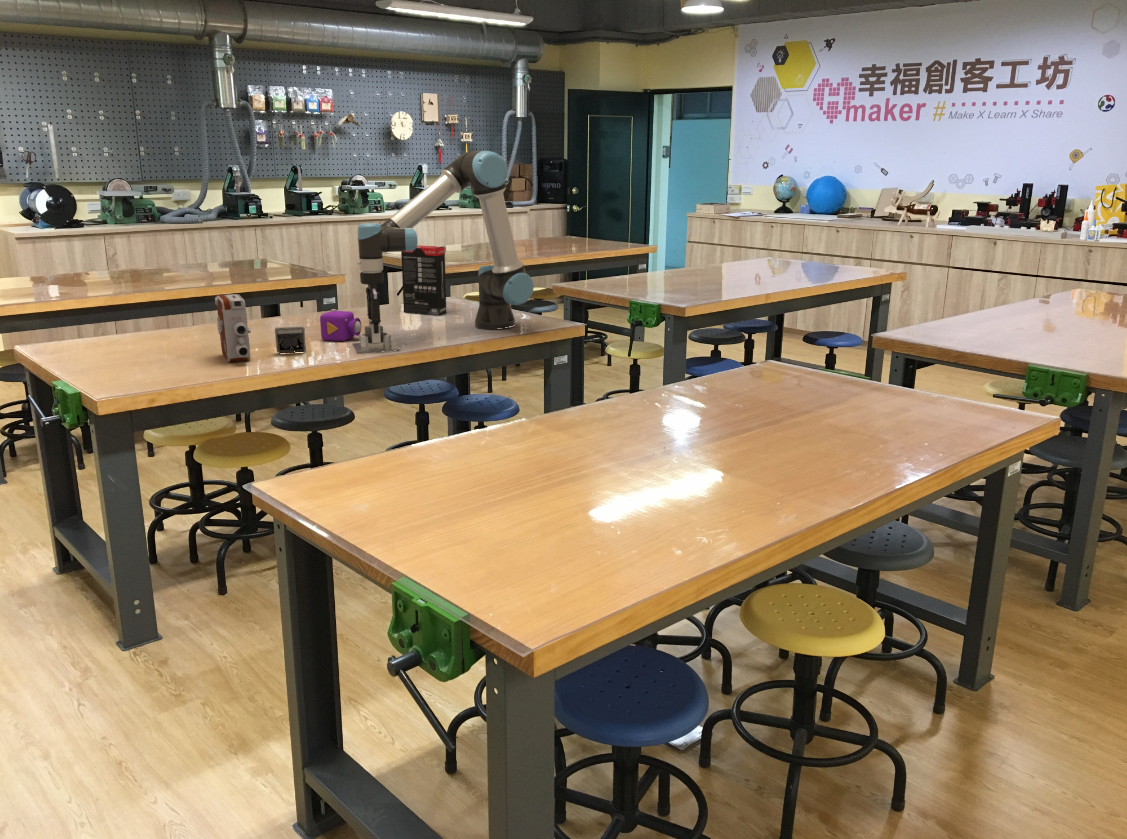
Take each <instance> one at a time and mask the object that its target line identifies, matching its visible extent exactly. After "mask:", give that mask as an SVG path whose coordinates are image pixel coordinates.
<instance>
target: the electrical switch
mask: <svg viewBox="0 0 1127 839" xmlns="http://www.w3.org/2000/svg"><path fill="white" fill-rule="evenodd" d="M305 328H306V327H305V326H304V325H288V326H287V325H285V326H276V327H275V328H274V335H275V336H274V337H275V344H276V346H275V347H276V352H277V353H278V352H279V353H278V354H279V355H280V353H295V352H304V351H305V352H306V351H307V345H306V335H305V334H306V333H305V330H306V329H305ZM294 351H295V352H294ZM305 352H304V353H305Z"/></svg>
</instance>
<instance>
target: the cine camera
mask: <svg viewBox="0 0 1127 839" xmlns="http://www.w3.org/2000/svg"><path fill="white" fill-rule="evenodd" d="M214 303H215V305H216V310H217V318H216V320H217V323H216V324H217V332H218V335H219V337H220V347H221V352H222V356H223V357H224V358H225V359H226V361H227V362H228V363H234V362H235V363H236V362H245V361H250V360H251V347H250V346H251V345H250V337H249V333H250V334H251V333H252V329H251V327H248V316H247V315H248V312H247V307H246V301H245V299H244V298H243V297H242V296H241V295H240V294H236V293H235V294H233V293H232V294H220V295H219V294H218V295H216V296H215V297H214Z"/></svg>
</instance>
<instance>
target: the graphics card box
mask: <svg viewBox="0 0 1127 839" xmlns="http://www.w3.org/2000/svg"><path fill="white" fill-rule="evenodd" d="M445 249H446V248H445V246H435V245H420V244H417V247H416V249H415V250H413V251H407V252H406V251H402V252H401V253H400V255H401V274H402V275H401V276H402V277H401V278H402V296H403V297H402V299H403V301H402V302H403V312H404V313H408V314H409V313H410V314H418V313H421V315H427V314H431V315H430V316H438V315H439V316H442V315H445V314H447V285H446V283H447V282H446V251H445Z"/></svg>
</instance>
